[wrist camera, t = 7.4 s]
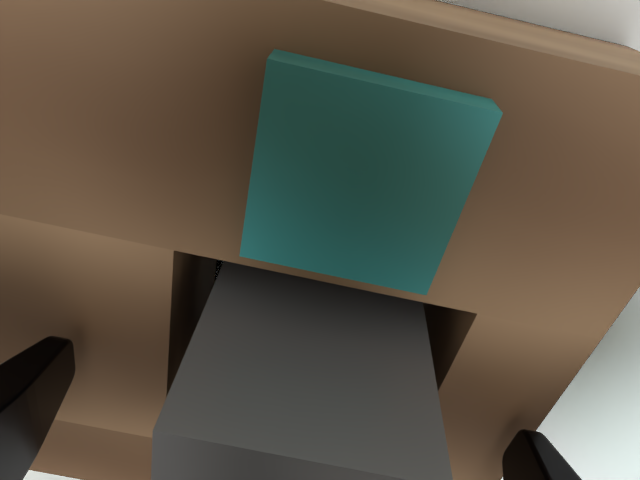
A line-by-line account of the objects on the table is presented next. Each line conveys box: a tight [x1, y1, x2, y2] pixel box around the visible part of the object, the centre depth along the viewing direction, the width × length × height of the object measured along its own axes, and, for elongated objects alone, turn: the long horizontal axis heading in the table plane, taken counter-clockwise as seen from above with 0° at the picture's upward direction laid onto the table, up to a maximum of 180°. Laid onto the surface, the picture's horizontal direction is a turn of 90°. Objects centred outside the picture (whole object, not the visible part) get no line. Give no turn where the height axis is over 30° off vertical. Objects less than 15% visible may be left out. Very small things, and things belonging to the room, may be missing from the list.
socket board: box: [0, 0, 640, 480], centre depth 11 cm, size 12×18×5 cm, turn 78°
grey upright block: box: [151, 261, 453, 480], centre depth 10 cm, size 4×4×7 cm
